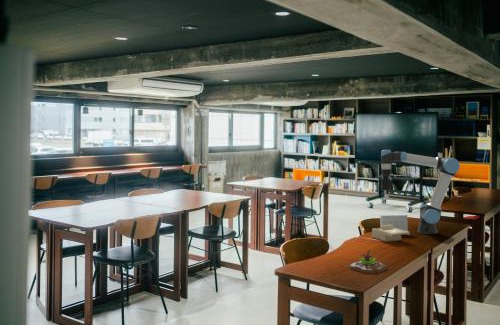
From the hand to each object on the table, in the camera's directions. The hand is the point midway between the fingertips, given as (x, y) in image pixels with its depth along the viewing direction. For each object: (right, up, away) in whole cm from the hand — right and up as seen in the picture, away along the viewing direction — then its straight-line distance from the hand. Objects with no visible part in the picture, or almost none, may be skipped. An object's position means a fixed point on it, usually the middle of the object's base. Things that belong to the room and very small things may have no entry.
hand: (386, 198), depth 368 cm
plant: (-39, -36, -93) cm, 107 cm away
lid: (-1, -26, -20) cm, 33 cm away
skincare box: (+8, -30, +6) cm, 32 cm away
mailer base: (-4, -31, -12) cm, 33 cm away
